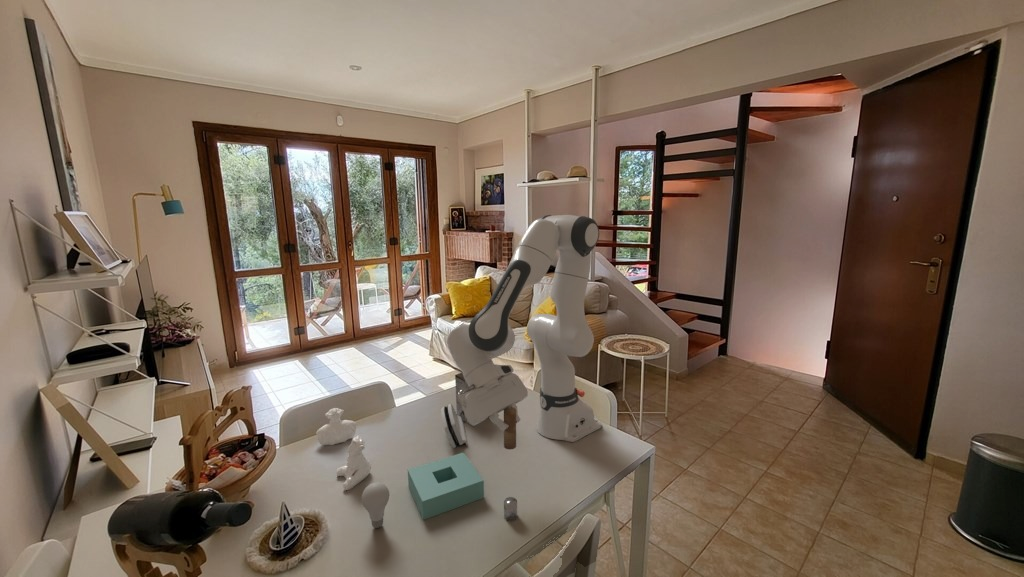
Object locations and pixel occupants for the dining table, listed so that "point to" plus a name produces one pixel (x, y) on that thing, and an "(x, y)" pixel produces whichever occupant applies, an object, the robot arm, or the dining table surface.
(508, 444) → the tall walnut pin
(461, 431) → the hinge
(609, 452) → the dining table surface
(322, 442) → the bust
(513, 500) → the short metal pin
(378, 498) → the lightbulb
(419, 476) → the hole block
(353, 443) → the white creature statuette
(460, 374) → the coffee box
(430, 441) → the dining table surface
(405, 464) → the dining table surface
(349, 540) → the dining table surface
